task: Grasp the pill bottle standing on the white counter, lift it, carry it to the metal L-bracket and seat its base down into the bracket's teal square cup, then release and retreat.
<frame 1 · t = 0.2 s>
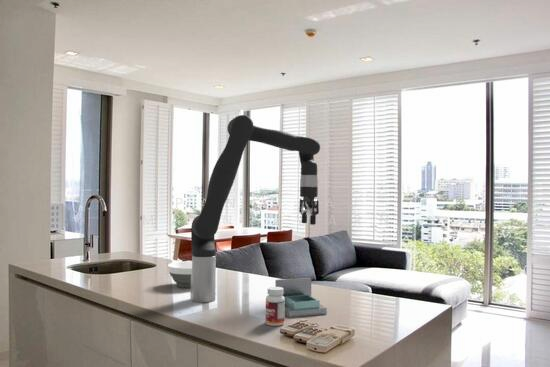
hand: (308, 223, 187), 29 cm above the worktop, fingers open, 8 cm apart
bowl: (189, 286, 197), on the worktop
pill bottle: (275, 324, 141), on the worktop
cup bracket: (301, 311, 156), on the worktop
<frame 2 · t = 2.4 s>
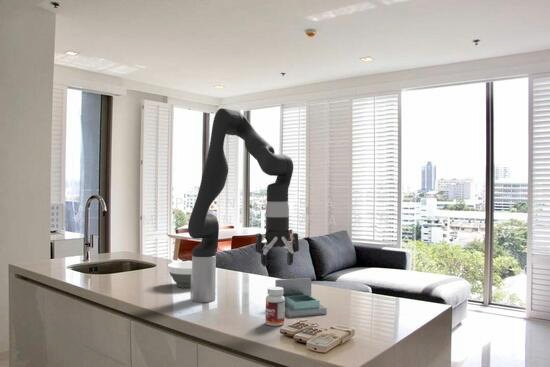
hand: (277, 265, 142), 18 cm above the worktop, fingers open, 8 cm apart
nothing on the worktop moved.
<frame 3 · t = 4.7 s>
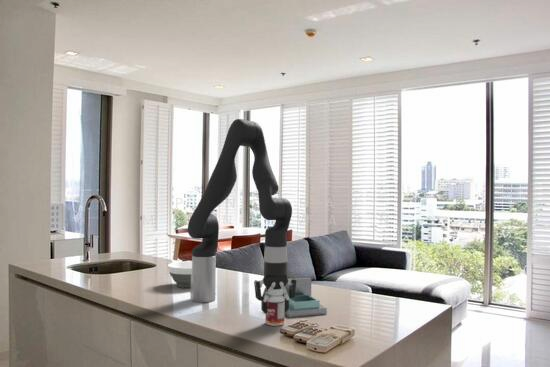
hand: (275, 312, 141), 4 cm above the worktop, fingers closed on pill bottle, 6 cm apart
pill bottle: (275, 324, 141), on the worktop, touching gripper
everything else where it was.
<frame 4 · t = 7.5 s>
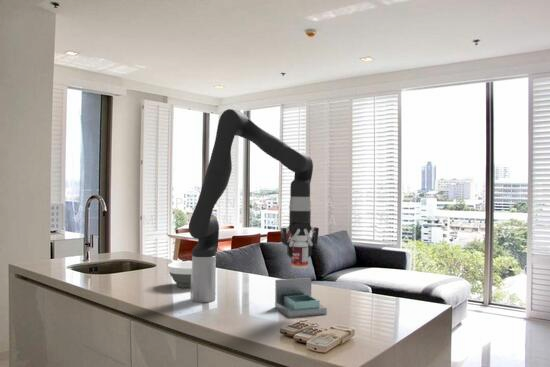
hand: (299, 256, 155), 20 cm above the worktop, fingers closed on pill bottle, 6 cm apart
pill bottle: (299, 267, 155), point 16 cm above the worktop, touching gripper
everything else where it was.
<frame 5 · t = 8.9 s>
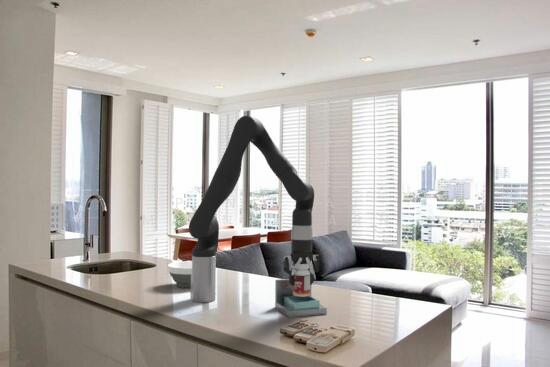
hand: (301, 284, 156), 9 cm above the worktop, fingers closed on pill bottle, 6 cm apart
pill bottle: (301, 295, 156), point 6 cm above the worktop, touching gripper
everything else where it was.
when the fingers open (7 cm above the worktop, at t = 10.3 s): pill bottle drops 1 cm, resting on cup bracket.
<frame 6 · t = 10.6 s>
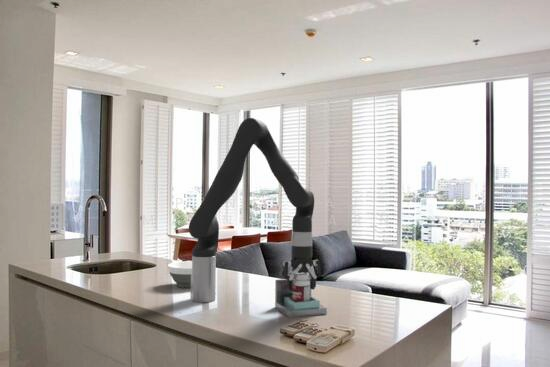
hand: (301, 289, 156), 8 cm above the worktop, fingers open, 8 cm apart
pill bottle: (301, 306, 156), point 2 cm above the worktop, touching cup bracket
everything else where it was.
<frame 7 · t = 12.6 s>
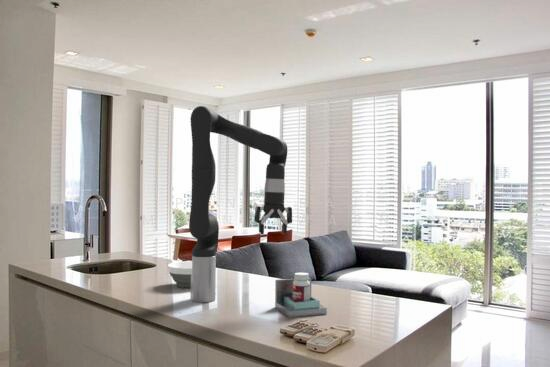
hand: (272, 234, 164), 27 cm above the worktop, fingers open, 8 cm apart
nothing on the worktop moved.
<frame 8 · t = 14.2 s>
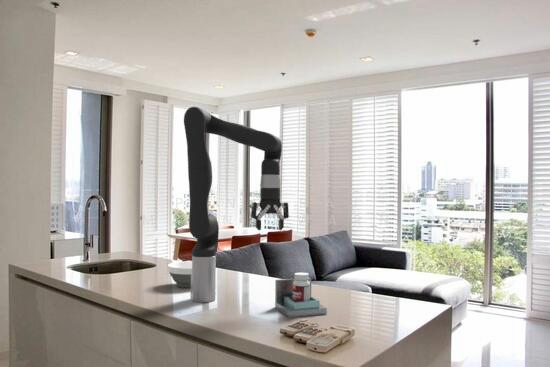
hand: (269, 229, 165), 28 cm above the worktop, fingers open, 8 cm apart
nothing on the worktop moved.
at the end: pill bottle 0.1 cm off-centre on the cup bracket, point 1.8 cm above the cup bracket's base; pill bottle tilted 0°; the gripper is holding nothing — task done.
